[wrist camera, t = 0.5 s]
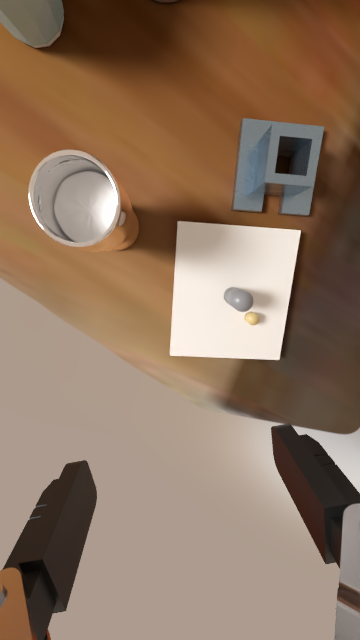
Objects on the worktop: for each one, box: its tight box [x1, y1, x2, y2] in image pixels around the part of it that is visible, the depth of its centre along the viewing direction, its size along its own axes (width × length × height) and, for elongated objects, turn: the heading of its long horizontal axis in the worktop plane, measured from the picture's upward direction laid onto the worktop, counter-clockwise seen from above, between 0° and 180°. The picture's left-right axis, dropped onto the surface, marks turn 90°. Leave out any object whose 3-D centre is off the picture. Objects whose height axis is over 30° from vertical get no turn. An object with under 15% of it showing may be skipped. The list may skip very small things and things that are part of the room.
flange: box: [231, 118, 324, 216], centre depth 30 cm, size 10×10×5 cm
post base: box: [170, 221, 301, 360], centre depth 32 cm, size 18×16×6 cm
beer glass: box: [28, 150, 139, 252], centre depth 25 cm, size 7×7×15 cm
